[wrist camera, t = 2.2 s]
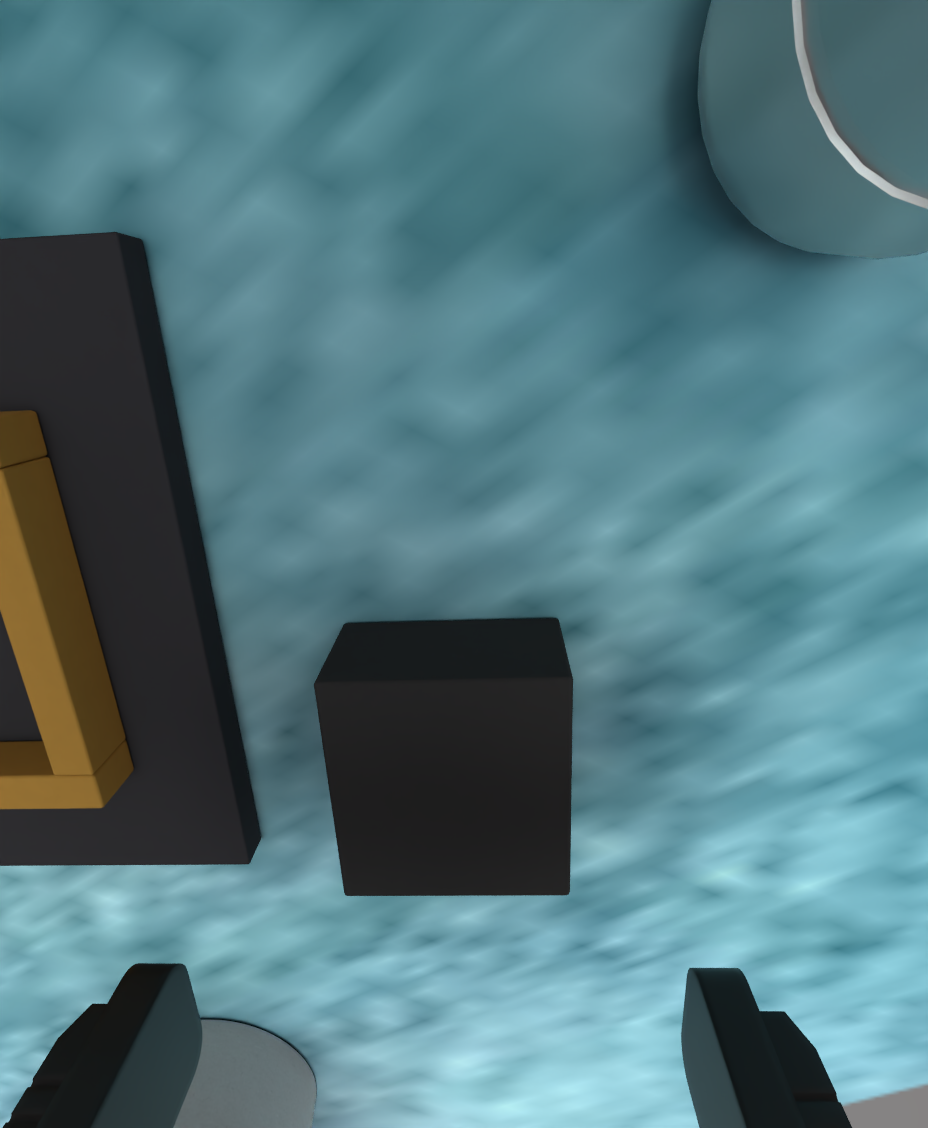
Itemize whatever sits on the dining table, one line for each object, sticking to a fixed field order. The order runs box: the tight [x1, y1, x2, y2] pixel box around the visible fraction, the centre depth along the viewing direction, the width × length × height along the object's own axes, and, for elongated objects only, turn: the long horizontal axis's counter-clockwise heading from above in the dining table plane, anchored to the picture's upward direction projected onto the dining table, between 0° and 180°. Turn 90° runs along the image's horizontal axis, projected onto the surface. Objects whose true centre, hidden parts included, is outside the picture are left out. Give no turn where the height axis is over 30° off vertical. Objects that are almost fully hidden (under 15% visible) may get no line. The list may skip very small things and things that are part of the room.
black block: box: [314, 618, 573, 896], centre depth 16 cm, size 6×6×3 cm
